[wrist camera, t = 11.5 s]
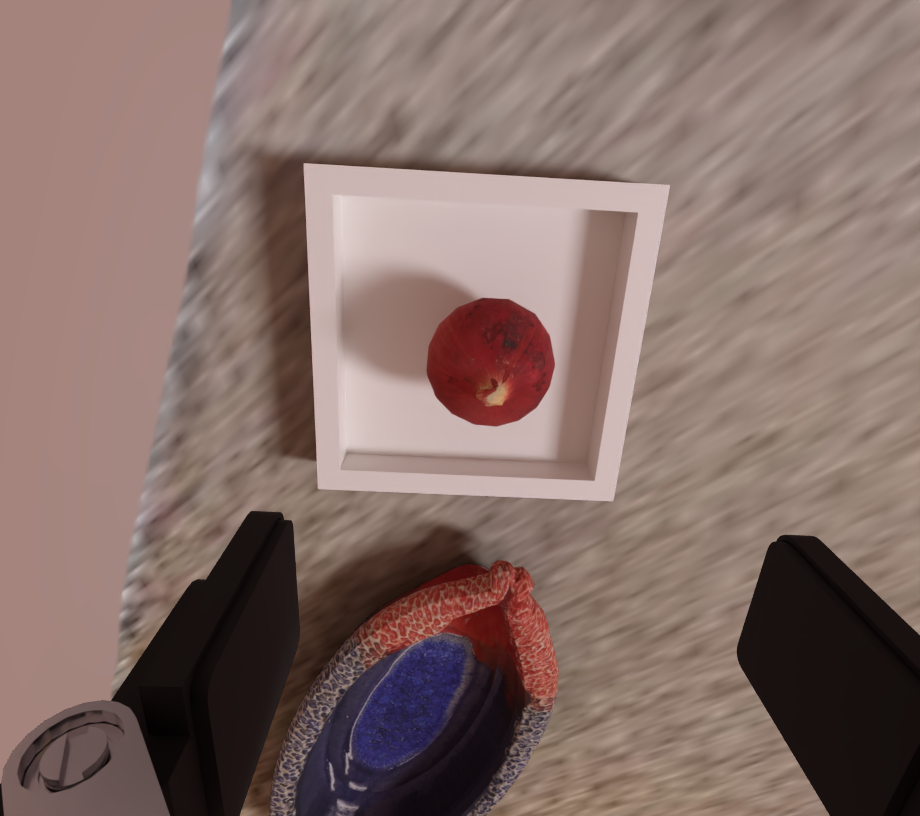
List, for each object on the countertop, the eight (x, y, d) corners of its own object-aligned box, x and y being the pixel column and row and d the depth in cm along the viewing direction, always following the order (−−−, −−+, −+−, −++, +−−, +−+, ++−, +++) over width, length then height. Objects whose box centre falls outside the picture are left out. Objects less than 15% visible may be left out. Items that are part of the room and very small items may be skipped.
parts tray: (319, 166, 26) (303, 163, 24) (647, 186, 27) (670, 185, 24) (329, 463, 32) (318, 488, 29) (599, 474, 33) (613, 501, 30)
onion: (463, 264, 27) (466, 293, 20) (562, 317, 28) (600, 364, 21) (412, 364, 29) (397, 424, 22) (506, 410, 30) (523, 483, 23)
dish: (235, 791, 43) (209, 864, 38) (417, 487, 33) (411, 535, 29) (412, 850, 46) (407, 925, 41) (626, 586, 36) (652, 644, 31)
